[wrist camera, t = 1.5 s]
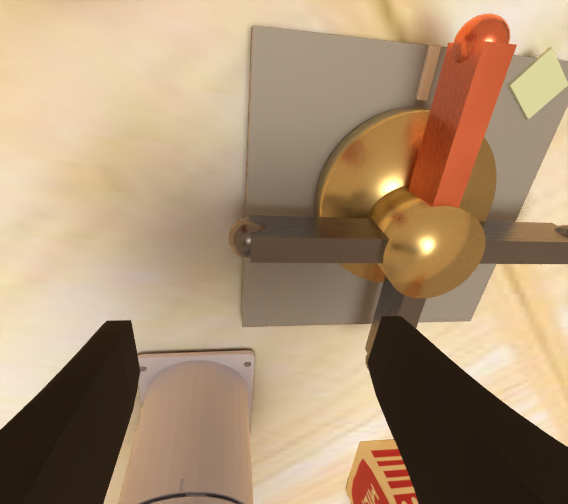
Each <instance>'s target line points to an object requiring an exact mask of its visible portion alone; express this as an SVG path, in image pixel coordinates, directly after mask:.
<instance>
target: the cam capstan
mask: <svg viewBox="0 0 568 504" xmlns="http://www.w3.org/2000/svg"><path fill="white" fill-rule="evenodd" d="M509 41H510V30H509V26H508V24H507V23H506V21H505V20H504V19H503V18H502V17H500V16H498V15H495V14H482V15H478V16H476V17H474V18H472V19H470V20H469V21H468V22H467V23H465V24H464V25H463V26H462V28H461V29H460V30H459V32H458V33H457V35H456V37H455V40H454V43H448V47H447V51H446V54H445V58H444V62H443V65H442V69H441V73H440V76H439V80H438V84H437V87H436V91H435V94H434V98H433V102H432V105H431V109H428V108H421V107H409V108H402V109H396V110H392V111H389V112H385V113H383V114H381V115H378V116H376V117H374V118H372V119H370V120H368V121H367V122H365V123H363V124H362V125H360V126H359V127H358V128H356V129H355V130H354V131H352V132H351V133H350V134H349V135H348V136H347V137H346V138H345V139H344V140H343V141H342V142H341V143H340V144H339V146H338V147H337V148H336V149H335V151H334V152H333V154H332V155H331V157H330V158H329V160H328V161H327V163H326V165H325V167H324V169H323V171H322V174H321V177H320V180H319V183H318V187H317V192H316V199H315V213H316V217H301V216H263V215H249V217H246V218H242V219H240V220H238V221H237V222H235V223H234V224H233V226H232V227H231V229H230V232H229V244H230V246H231V248H232V250H233V251H234V252H235V253H236V254H237V255H239V256H241V257H243V258H249V259H250V263H339V264H340V265H341V266H342V267H343V268H345V269H346V270H348V271H349V272H351V273H352V274H354V275H356V276H358V277H360V278H363V279H367V280H370V281H376V282H383V285H382V289H381V292H380V296H379V300H378V303H377V307H376V311H375V314H374V318H373V322H372V325H371V329H370V333H369V336H368V340H367V344H366V347H365V349H366V351H367V355H366V366H367V368H368V364H367V362H368V359H369V356H370V352H371V349H372V346H373V343H374V340H375V336H376V333H377V330H378V327H379V324H380V321H381V317H382V316H402V317H403V318H404V319H405V320H406V321H408V322H409V323H410V324H411V325H412V326H413V327H414V328H416V327H417V324H418V321H419V318H420V315H421V312H422V310H423V307H424V304H425V301H426V298H432V297H436V296H440V295H442V294H445V293H447V292H449V291H451V290H453V289H455V288H456V287H458V286H459V285H460V284H462V283H463V282H464V281H465V280H466V279H468V278H469V276H470V275H471V274H472V273H473V272H474V271H475V269H476V268H477V266H478V265H479V264H568V225H561V226H557V225H555V224H553V223H530V222H492V221H485V220H486V218H487V215H488V213H489V211H490V209H491V206H492V203H493V200H494V195H495V190H496V181H497V173H496V164H495V159H494V155H493V153H492V150H491V147H490V145H489V144H488V142H487V140H486V139H485V137H484V136H485V133H486V130H487V127H488V124H489V121H490V119H491V116H492V113H493V110H494V107H495V105H496V102H497V99H498V96H499V93H500V91H501V88H502V85H503V82H504V79H505V77H506V74H507V71H508V68H509V65H510V63H511V60H512V57H513V54H514V51H515V48H516V46H517V45H514V44H509ZM368 370H369V368H368Z"/></svg>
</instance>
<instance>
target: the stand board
mask: <svg viewBox="0 0 568 504" xmlns="http://www.w3.org/2000/svg"><path fill="white" fill-rule="evenodd" d="M446 51H447V47H441V46H433V45H421V44H412V43H403V42H394V41H386V40H377V39H368V38H359V37H350V36H342V35H333V34H324V33H315V32H307V31H298V30H289V29H280V28H272V27H263V26H254V25H253V26H252V27H251V55H250V84H249V113H248V142H247V172H246V201H245V218H246V217H249V215H263V216H301V217H316V213H315V199H316V192H317V187H318V183H319V180H320V177H321V174H322V171H323V169H324V167H325V165H326V163H327V161H328V160H329V158H330V157H331V155H332V154H333V152H334V151H335V149H336V148H337V147H338V146H339V144H340V143H341V142H342V141H343V140H344V139H345V138H346V137H347V136H348V135H349V134H350V133H351V132H352V131H354V130H355V129H356V128H358V127H359V126H360V125H362V124H363V123H365V122H367V121H368V120H370V119H372V118H374V117H376V116H378V115H381V114H383V113H385V112H389V111H392V110H396V109H402V108H409V107H421V108H428V109H431V105H432V102H433V98H434V94H435V91H436V87H437V84H438V80H439V76H440V73H441V69H442V65H443V62H444V58H445V54H446ZM567 106H568V61H561V60H558V59H557V57H556V55H555V52H554V50H553V48H552V47H551V48H548V49H547V50H546V51H545V52H543V53H542V54H541V55H540V56H539V57H538V58H535V57H526V56H517V55H513V57H512V60H511V63H510V65H509V68H508V71H507V74H506V77H505V79H504V82H503V85H502V88H501V91H500V93H499V96H498V99H497V102H496V105H495V107H494V110H493V113H492V116H491V119H490V121H489V124H488V127H487V130H486V133H485V136H484V137H485V139H486V140H487V142H488V144H489V145H490V147H491V150H492V153H493V155H494V159H495V164H496V173H497V181H496V190H495V195H494V200H493V203H492V206H491V209H490V211H489V213H488V215H487V218H486V220H485V221H492V222H515V221H516V219H517V217H518V215H519V212H520V210H521V208H522V206H523V203H524V201H525V199H526V197H527V195H528V192H529V190H530V188H531V186H532V184H533V181H534V179H535V177H536V175H537V172H538V170H539V168H540V166H541V164H542V161H543V159H544V157H545V155H546V152H547V150H548V148H549V146H550V144H551V141H552V139H553V137H554V135H555V132H556V130H557V128H558V126H559V124H560V121H561V119H562V117H563V115H564V113H565V110H566V108H567ZM495 266H496V264H479V265H478V266H477V268H476V269H475V271H474V272H473V273H472V274H471V275H470V276H469V278H468V279H466V280H465V281H464V282H463V283H462V284H460V285H459V286H458V287H456V288H455V289H453V290H451V291H449V292H447V293H445V294H442V295H440V296H436V297H432V298H426V301H425V304H424V307H423V310H422V312H421V315H420V318H419V321H418V322H455V321H471V319H472V317H473V314H474V312H475V310H476V308H477V306H478V303H479V301H480V299H481V297H482V294H483V292H484V290H485V288H486V286H487V283H488V281H489V279H490V277H491V274H492V272H493V270H494V268H495ZM382 285H383V282H376V281H370V280H367V279H363V278H360V277H358V276H356V275H354V274H352V273H351V272H349V271H348V270H346V269H345V268H343V267H342V266H341V265H340V264H339V263H250V259H249V258H244V259H243V289H242V327H259V326H298V325H337V324H372V322H373V318H374V314H375V311H376V307H377V303H378V300H379V296H380V292H381V289H382Z"/></svg>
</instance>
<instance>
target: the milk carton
mask: <svg viewBox="0 0 568 504" xmlns="http://www.w3.org/2000/svg"><path fill="white" fill-rule="evenodd" d="M346 491H347V494H348V496H349V499H350V502H351V504H419V503H418V500H417V497H416V494H415V491H414V488H413V485H412V482H411V480H410V477H409V474H408V472H407V469H406V467H405V464H404V462H403V459H402V457H401V455H400V452H399V450H398V447H397V445H396V443H395V440H379V441H363V442H360V443H359V446H358V449H357V452H356V456H355V459H354V462H353V465H352V469H351V472H350V476H349V480H348V484H347V487H346Z"/></svg>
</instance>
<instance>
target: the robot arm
mask: <svg viewBox="0 0 568 504" xmlns="http://www.w3.org/2000/svg"><path fill="white" fill-rule="evenodd" d="M245 362H248V363H245ZM254 364H255V355H254V353H253V352H252V351H249V350H243V351H216V352H188V353H161V354H141V355H137V350H136V345H135V339H134V334H133V328H132V323H131V320H126V321H106V322H105V323H104V324H103V325H102V326H101V327H100V328H99V330H98V331H97V332H96V333H95V334H94V335H93V336H92V337H91V338H90V339H89V341H88V342H87V343H86V344H85V345H84V346H83V347H82V348H81V349H80V351H79V352H78V353H77V354H76V355H75V356H74V357H73V358H72V359H71V360H70V361H69V362H68V363H67V365H66V366H65V367H64V368H63V369H62V370H61V371H60V372H59V373H58V374H57V375H56V376H55V377H54V378H53V379H52V380H51V381H50V382H49V383H48V384H47V385H46V386H45V387H44V388H43V389H42V390H41V391H40V392H39V393H38V394H37V395H36V396H35V397H34V398H33V399H32V400H31V401H30V402H29V403H28V404H27V405H26V406H25V407H24V408H23V409H22V410H21V411H20V412H19V413H18V414H17V415H15V416H14V417H13V418H12V419H11V420H10V421H9V422H8V423H7V424H6V425H5V426H4V427H3V428H2V429H1V430H0V504H103V503H104V499H105V496H106V493H107V490H108V487H109V483H110V480H111V477H112V474H113V471H114V468H115V465H116V462H117V458H118V455H119V452H120V449H121V446H122V443H123V440H124V437H125V433H126V430H127V427H128V424H129V421H130V417H131V414H132V411H133V407H134V402H135V398H136V393H137V387H139V393H140V399H141V405H142V410H141V414H140V418H139V422H138V426H137V430H136V434H135V438H134V442H133V446H132V450H131V454H130V458H129V462H128V466H127V470H126V474H125V478H124V482H123V486H122V490H121V494H120V498H119V502H118V504H253V491H252V471H251V452H250V428H251V412H252V396H253V380H254ZM367 364H368V368H369V371H370V375H371V379H372V383H373V386H374V390H375V393H376V396H377V399H378V401H379V404H380V406H381V409H382V411H383V414H384V416H385V418H386V421H387V423H388V426H389V428H390V431H391V433H392V435H393V438H394V440H395V443H396V445H397V447H398V450H399V452H400V455H401V457H402V459H403V462H404V464H405V467H406V469H407V472H408V474H409V477H410V480H411V482H412V485H413V488H414V491H415V494H416V497H417V500H418V503H419V504H568V447H567V446H565V445H563V444H562V443H560V442H559V441H557V440H556V439H554V438H553V437H551V436H550V435H548V434H547V433H545V432H544V431H542V430H541V429H540V428H538V427H537V426H535V425H534V424H533V423H531V422H530V421H528V420H527V419H525V418H524V417H523V416H521V415H520V414H518V413H517V412H516V411H514V410H513V409H511V408H510V407H509V406H507V405H506V404H505V403H503V402H502V401H501V400H500V399H498V398H497V397H496V396H494V395H493V394H492V393H491V392H489V391H488V390H487V389H486V388H484V387H483V386H482V385H480V384H479V383H478V382H477V381H476V380H474V379H473V378H472V377H471V376H469V375H468V374H467V373H466V372H465V371H463V370H462V369H461V368H460V367H459V366H458V365H456V364H455V363H454V362H453V361H452V360H451V359H449V358H448V357H447V356H446V355H445V354H444V353H443V352H441V351H440V350H439V349H438V348H437V347H436V346H435V345H434V344H432V343H431V342H430V341H429V340H428V339H427V338H426V337H425V336H423V335H422V334H421V333H420V332H419V331H418V330H417V329H416V328H414V327H413V326H412V325H411V324H410V323H409V322H408V321H406V320H405V319H404V318H403V317H402V316H382V317H381V321H380V324H379V327H378V330H377V333H376V336H375V340H374V343H373V346H372V349H371V352H370V356H369V359H368V362H367ZM142 366H145V367H142Z"/></svg>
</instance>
